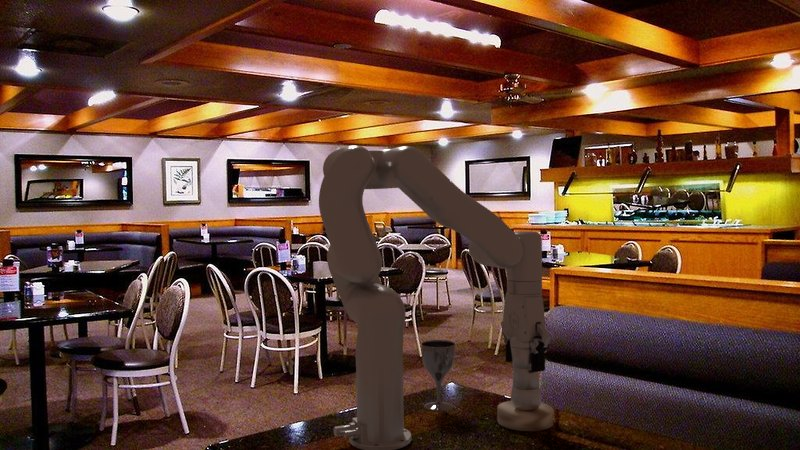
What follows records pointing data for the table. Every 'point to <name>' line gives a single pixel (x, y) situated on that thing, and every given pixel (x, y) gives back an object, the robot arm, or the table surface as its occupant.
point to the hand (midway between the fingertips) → (524, 366)
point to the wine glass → (438, 367)
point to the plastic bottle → (524, 377)
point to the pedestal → (525, 417)
